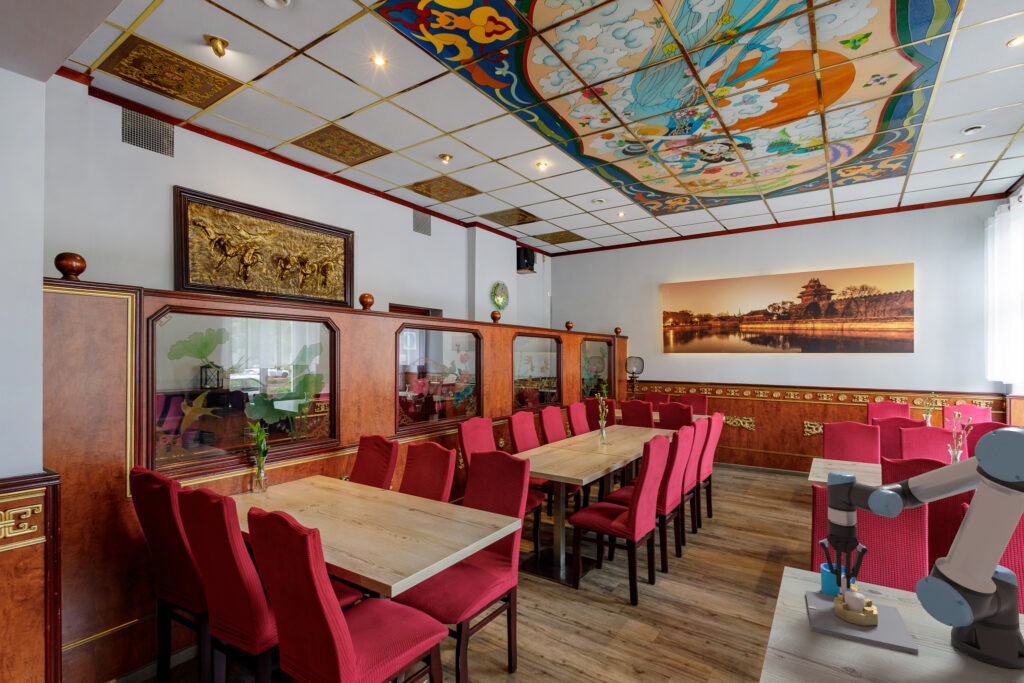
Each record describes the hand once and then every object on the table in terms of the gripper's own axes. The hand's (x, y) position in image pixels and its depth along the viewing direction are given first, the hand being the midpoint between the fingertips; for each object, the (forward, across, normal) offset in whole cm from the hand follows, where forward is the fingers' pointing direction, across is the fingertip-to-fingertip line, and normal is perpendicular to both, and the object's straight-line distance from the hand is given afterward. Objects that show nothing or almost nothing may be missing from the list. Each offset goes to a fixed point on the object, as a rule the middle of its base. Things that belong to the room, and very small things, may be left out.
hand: (843, 597), depth 151 cm
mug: (+3, -1, -11) cm, 11 cm away
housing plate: (+3, -2, +8) cm, 8 cm away
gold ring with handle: (+1, -2, +6) cm, 6 cm away
